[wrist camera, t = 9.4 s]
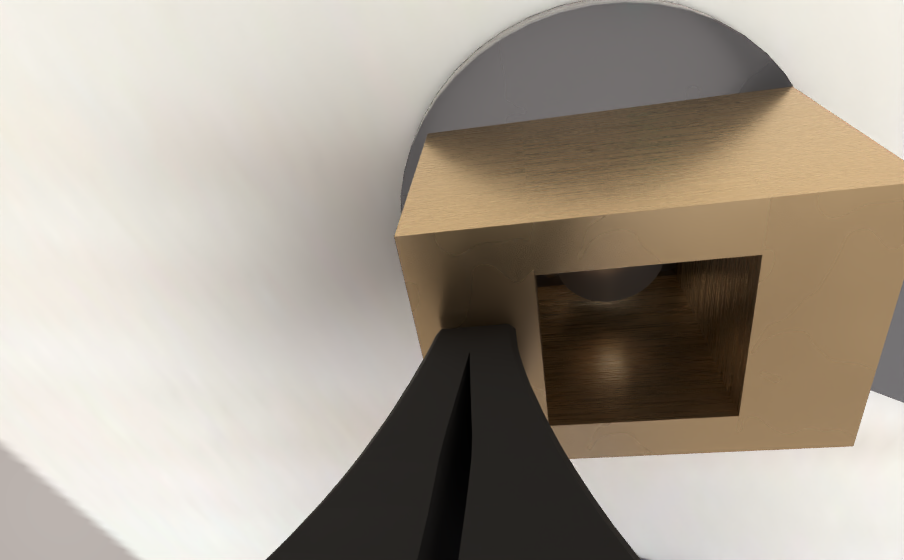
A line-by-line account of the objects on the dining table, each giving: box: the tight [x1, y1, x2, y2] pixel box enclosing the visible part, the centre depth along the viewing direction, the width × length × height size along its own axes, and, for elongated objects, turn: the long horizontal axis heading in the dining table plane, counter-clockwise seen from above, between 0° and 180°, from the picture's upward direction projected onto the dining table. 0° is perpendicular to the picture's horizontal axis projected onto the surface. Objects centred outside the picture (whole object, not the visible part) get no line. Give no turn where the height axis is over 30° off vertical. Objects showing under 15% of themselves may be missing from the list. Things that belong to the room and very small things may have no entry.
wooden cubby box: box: [394, 86, 904, 459], centre depth 13 cm, size 6×8×5 cm
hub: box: [401, 0, 793, 302], centre depth 14 cm, size 10×10×3 cm
